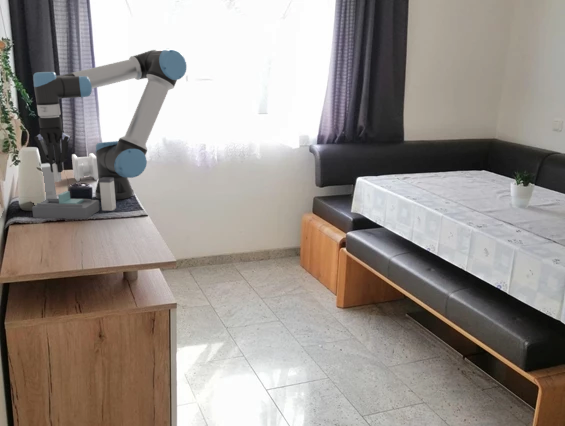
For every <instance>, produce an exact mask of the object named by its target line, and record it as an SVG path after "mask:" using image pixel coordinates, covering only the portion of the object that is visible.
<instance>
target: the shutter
mask: <svg viewBox="0 0 565 426" xmlns="http://www.w3.org/2000/svg"><path fill="white" fill-rule="evenodd" d="M70 192H71V191H70V190H65V191H63V192H62V193H59V194H57V196H58V198H59V204H80V203H81V202H83V201H84V199H85V198H71V193H70Z"/></svg>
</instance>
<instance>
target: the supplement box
mask: <svg viewBox="0 0 565 426" xmlns="http://www.w3.org/2000/svg"><path fill="white" fill-rule="evenodd" d="M40 164H41V167H42V172H43V176H44V183H45V192H46V200H47V199H48V198H57V189H56V182H55V181H54V174H53V172H51V168H50V164H49V163H48V162H45V163H40Z"/></svg>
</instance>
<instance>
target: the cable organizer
mask: <svg viewBox="0 0 565 426" xmlns="http://www.w3.org/2000/svg"><path fill="white" fill-rule="evenodd" d="M71 160H72V161H71V162H72V173H73V174H72V175H73V178H74V179H75V181H76V182H78V183H79V182H80V180H81V178H85V177H92V178H93V179H94V180H95V181H98V169H97V158H96V154H94V153H93V152H91V153H89V154H88V156H80V157H79V156H77V155H76V154H75V153H73V154H71Z"/></svg>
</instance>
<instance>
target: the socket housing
mask: <svg viewBox="0 0 565 426" xmlns="http://www.w3.org/2000/svg"><path fill="white" fill-rule="evenodd" d="M83 199H84V201H83V202H81V203H80V204H59V197H58V198H48V199H47V200H45V201H43V202H41V203H37V205H35V206H34V205H32V207H31V211H32V216H33V217H32V218H35V219H36V218H38V219H39V218H41V219H73V220H75V219H77V220H79V219H82V220H83V219H84V220H85V219H88V218H90V217H91V216H93V215H95V214H96V213H98V212H99V211H100V201H99V200H100V199H91V198H83Z"/></svg>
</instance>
